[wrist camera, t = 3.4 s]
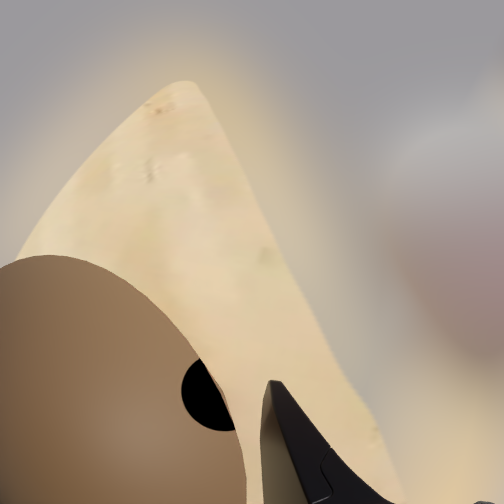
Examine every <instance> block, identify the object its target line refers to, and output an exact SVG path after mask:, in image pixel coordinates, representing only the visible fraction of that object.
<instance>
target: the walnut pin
mask: <svg viewBox="0 0 504 504" xmlns="http://www.w3.org/2000/svg"><path fill="white" fill-rule="evenodd" d="M0 504H246V473H245V467H244V461H243V454H242V450H241V447H240V443H239V440H238V437H237V433H236V430H235V427H234V423H233V420H232V417H231V414H230V411H229V408H228V405H227V402H226V399H225V396H224V393H223V391H222V390H221V388H220V387H219V385H218V384H217V382H216V381H215V379H214V378H213V377H212V375H211V374H210V372H209V371H208V369H207V368H206V366H205V365H204V363H203V362H202V361H201V359H200V358H199V356H198V355H197V354H196V352H195V351H194V349H193V348H192V346H191V345H190V343H189V342H188V340H187V339H186V338H185V337H184V336H183V334H182V333H181V332H180V331H179V330H178V329H177V327H176V326H175V325H174V324H173V323H172V322H171V320H170V319H169V318H168V317H167V316H166V315H165V314H164V313H163V312H162V311H161V310H160V309H159V308H158V307H157V306H156V305H155V304H154V303H153V302H152V301H150V300H149V299H148V298H147V297H146V296H145V295H144V294H142V293H141V292H140V291H138V290H137V289H136V288H134V287H133V286H132V285H130V284H129V283H128V282H127V281H125V280H123V279H122V278H120V277H118V276H116V275H115V274H113V273H111V272H110V271H108V270H106V269H104V268H102V267H99V266H97V265H94V264H92V263H89V262H87V261H84V260H80V259H76V258H72V257H68V256H56V255H43V256H33V257H29V258H25V259H21V260H17V261H15V262H13V263H10V264H8V265H6V266H4V267H2V268H0Z"/></svg>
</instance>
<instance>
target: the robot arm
mask: <svg viewBox="0 0 504 504" xmlns="http://www.w3.org/2000/svg"><path fill="white" fill-rule="evenodd" d="M330 447H331V446H330V445H329V444H328V442H327V441H326V440H325V439H324V437H323V436H322V435H321V433H320V432H319V431H318V430H317V428H316V427H315V426H314V424H313V423H312V422H311V421H310V419H309V418H308V417H307V415H306V414H305V413H304V411H303V410H302V409H301V407H300V406H299V405H298V403H297V402H296V401H295V399H294V398H293V397H292V395H291V394H290V393H289V391H288V390H287V389H286V387H285V386H284V384H283V383H282V382H281V381H276V380H269V381H268V384H267V387H266V391H265V394H264V398H263V406H262V418H261V430H260V449H261V466H262V483H263V499H264V504H394V503H392V502H390V501H388V500H386V499H384V498H383V497H382V496H380V495H379V494H378V493H377V492H376V491H374V490H373V489H372V488H371V487H370V486H369V485H367V484H366V483H365V482H364V481H363V480H362V479H361V478H360V477H358V476H357V475H356V474H355V473H354V472H353V471H352V470H351V469H350V468H349V467H348V466H347V465H346V464H345V463H344V461H343V460H342V459H341V458H340V457H339V456H338V455H337V453H336V452H335V451H334V450H333V448H330ZM474 504H494V503H491V502H483V501H478V502H476V503H474Z"/></svg>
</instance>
